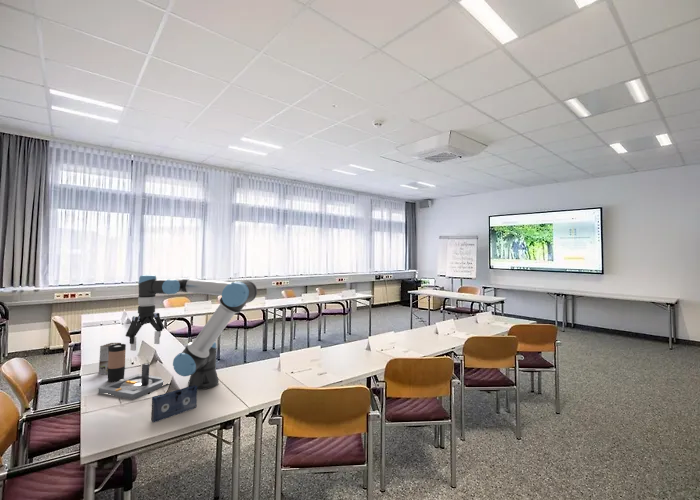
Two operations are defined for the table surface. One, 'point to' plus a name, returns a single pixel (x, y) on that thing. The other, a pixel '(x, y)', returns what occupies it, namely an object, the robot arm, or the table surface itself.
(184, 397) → the vhs cassette tape
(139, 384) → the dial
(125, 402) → the table surface
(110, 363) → the travel mug
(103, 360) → the coffee box
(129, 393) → the gray square tray
